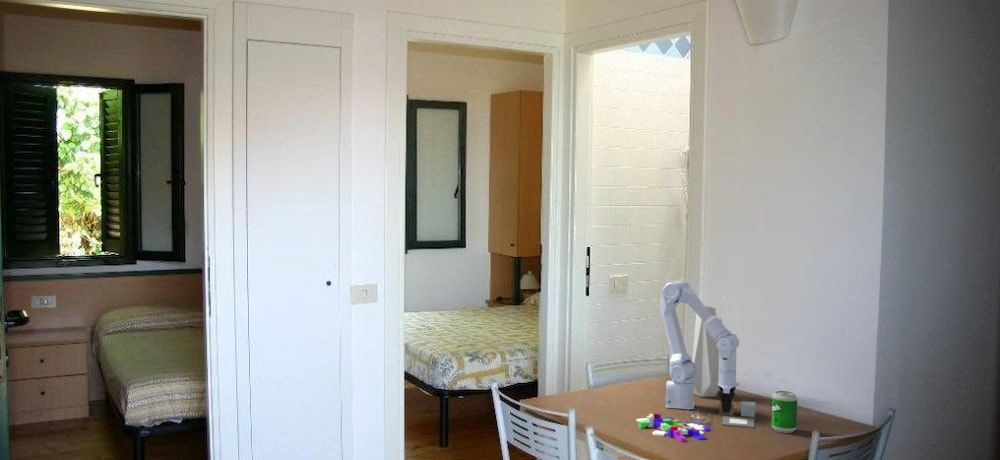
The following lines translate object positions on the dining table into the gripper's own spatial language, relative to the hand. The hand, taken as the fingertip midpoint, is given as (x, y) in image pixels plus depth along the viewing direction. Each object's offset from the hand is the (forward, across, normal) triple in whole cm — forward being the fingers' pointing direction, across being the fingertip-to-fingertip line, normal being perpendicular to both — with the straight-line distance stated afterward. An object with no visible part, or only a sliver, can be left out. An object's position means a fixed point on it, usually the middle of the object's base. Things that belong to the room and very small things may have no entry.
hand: (726, 409), depth 290 cm
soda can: (+2, -15, -18) cm, 23 cm away
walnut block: (+2, 0, 0) cm, 2 cm away
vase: (+2, +25, +8) cm, 26 cm away
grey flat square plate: (+1, -10, -4) cm, 11 cm away
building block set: (+2, -24, +15) cm, 28 cm away
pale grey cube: (+2, +1, -7) cm, 7 cm away
